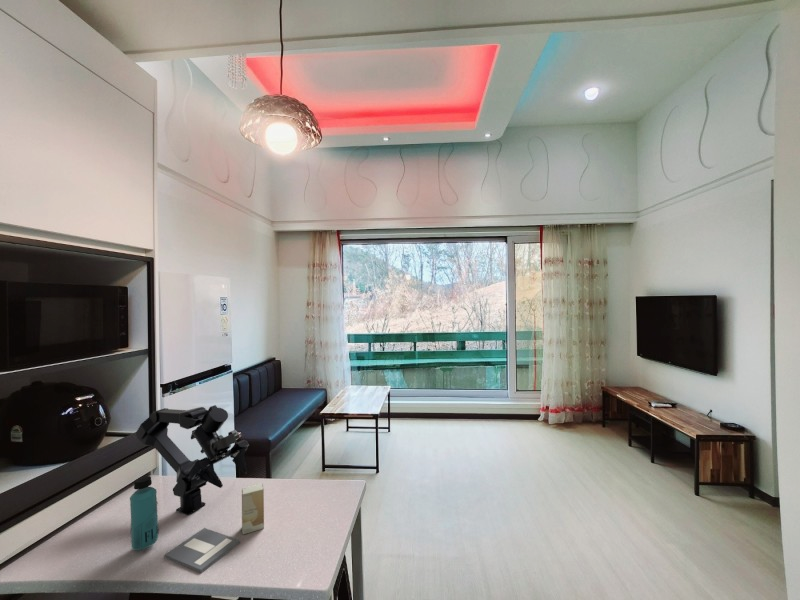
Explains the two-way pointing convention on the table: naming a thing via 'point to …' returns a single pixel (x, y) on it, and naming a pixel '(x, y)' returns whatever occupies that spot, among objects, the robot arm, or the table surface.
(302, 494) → the table surface
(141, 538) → the beverage bottle
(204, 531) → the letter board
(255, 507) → the skincare box
